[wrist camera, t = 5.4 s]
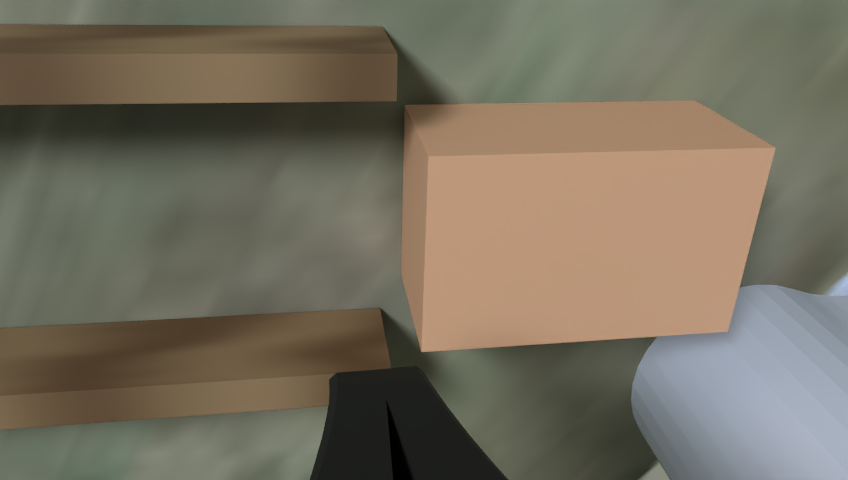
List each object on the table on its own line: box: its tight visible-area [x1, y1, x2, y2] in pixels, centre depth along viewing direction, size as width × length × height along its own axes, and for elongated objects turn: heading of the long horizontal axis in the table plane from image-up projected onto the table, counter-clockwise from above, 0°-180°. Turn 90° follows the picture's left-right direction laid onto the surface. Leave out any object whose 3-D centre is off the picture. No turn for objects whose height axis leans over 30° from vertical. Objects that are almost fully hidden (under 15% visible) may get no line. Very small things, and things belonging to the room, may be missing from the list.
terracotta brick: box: [402, 101, 775, 352], centre depth 19 cm, size 8×5×4 cm, turn 88°
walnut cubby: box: [0, 24, 398, 430], centre depth 17 cm, size 15×9×3 cm, turn 88°
